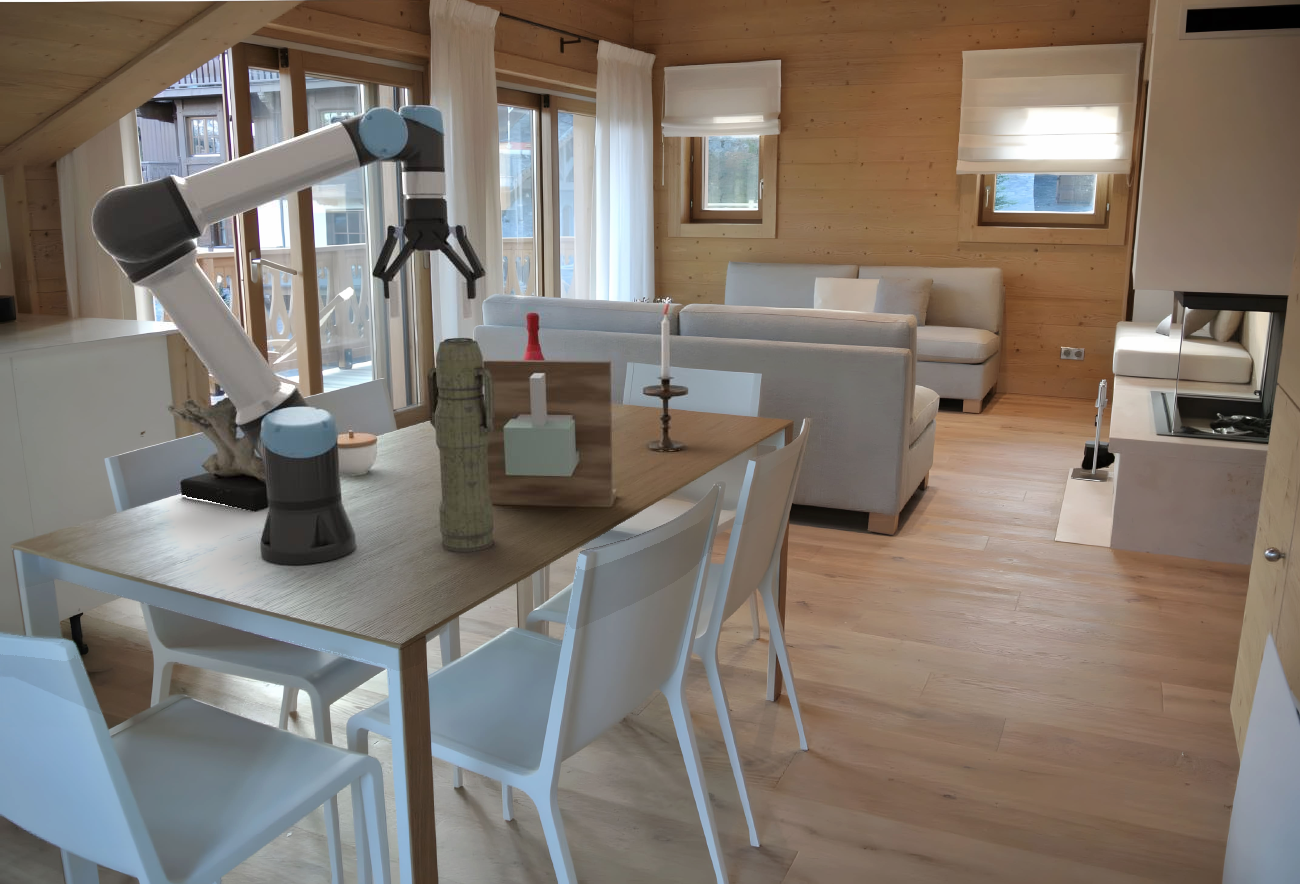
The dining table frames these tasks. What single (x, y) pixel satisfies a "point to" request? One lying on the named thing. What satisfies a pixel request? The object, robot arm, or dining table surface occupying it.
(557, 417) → the pale green block
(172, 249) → the robot arm
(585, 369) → the wall board
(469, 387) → the thermos
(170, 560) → the dining table surface
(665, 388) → the candlestick
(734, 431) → the dining table surface
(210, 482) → the coral
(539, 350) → the red flared column
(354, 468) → the lidded jar
